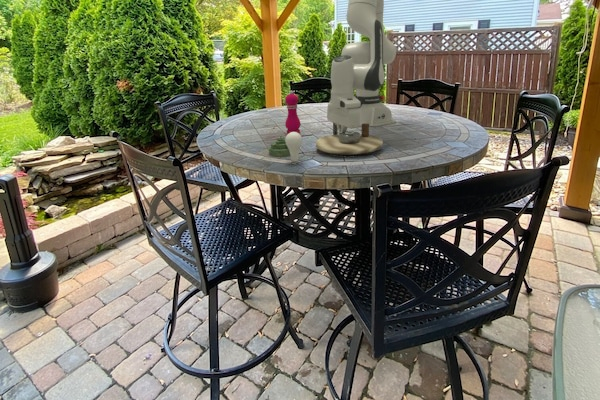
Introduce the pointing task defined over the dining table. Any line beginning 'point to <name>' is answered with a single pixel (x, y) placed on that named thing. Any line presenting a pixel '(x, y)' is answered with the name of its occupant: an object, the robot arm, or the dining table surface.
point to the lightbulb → (293, 144)
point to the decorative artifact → (279, 148)
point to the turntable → (364, 146)
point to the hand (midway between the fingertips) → (342, 135)
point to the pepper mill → (292, 114)
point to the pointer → (335, 129)
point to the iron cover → (349, 137)
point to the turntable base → (348, 154)
